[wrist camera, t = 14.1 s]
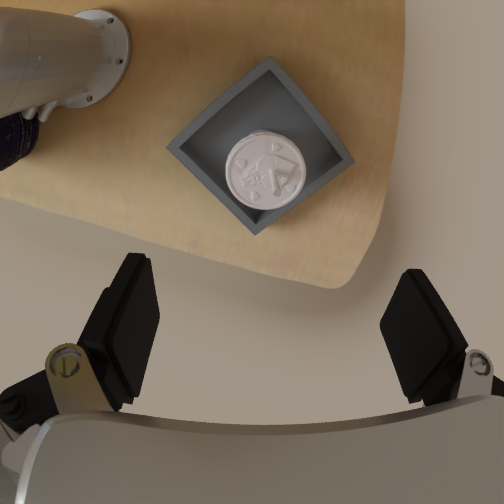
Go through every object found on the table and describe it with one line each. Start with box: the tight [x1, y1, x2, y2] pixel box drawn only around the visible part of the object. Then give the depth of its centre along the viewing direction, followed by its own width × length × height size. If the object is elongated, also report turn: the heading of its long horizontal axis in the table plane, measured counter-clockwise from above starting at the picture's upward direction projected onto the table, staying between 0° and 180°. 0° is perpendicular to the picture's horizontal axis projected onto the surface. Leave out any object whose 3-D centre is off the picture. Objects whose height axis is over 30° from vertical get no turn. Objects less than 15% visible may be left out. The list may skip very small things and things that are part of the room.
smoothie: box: [226, 129, 306, 210], centre depth 24 cm, size 6×6×14 cm
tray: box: [166, 56, 355, 235], centre depth 29 cm, size 14×14×3 cm
